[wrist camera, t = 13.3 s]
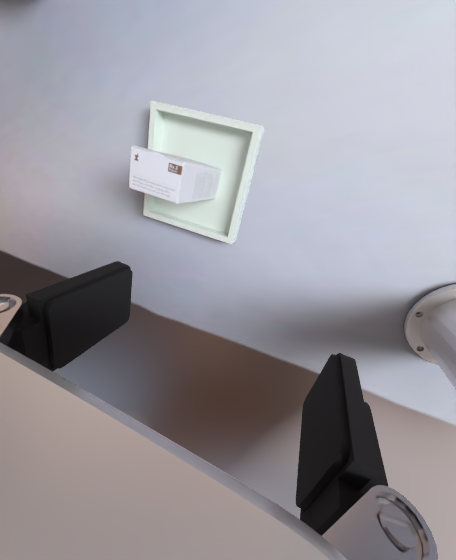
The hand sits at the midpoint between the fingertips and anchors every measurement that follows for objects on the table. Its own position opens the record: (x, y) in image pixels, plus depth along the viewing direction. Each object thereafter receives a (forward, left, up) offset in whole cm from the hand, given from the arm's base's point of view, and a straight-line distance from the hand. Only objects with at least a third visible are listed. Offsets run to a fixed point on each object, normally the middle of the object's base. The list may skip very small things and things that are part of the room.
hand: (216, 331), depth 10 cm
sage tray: (+13, -4, -27) cm, 30 cm away
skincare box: (+13, -4, -26) cm, 30 cm away
